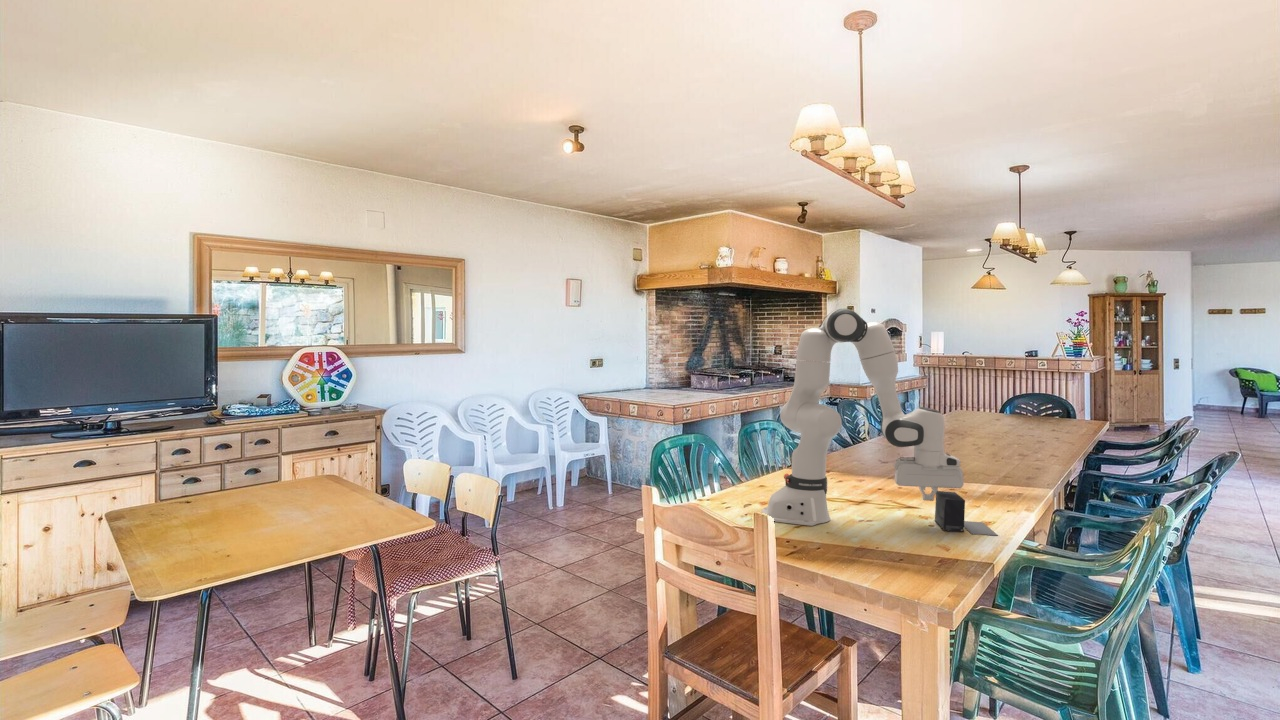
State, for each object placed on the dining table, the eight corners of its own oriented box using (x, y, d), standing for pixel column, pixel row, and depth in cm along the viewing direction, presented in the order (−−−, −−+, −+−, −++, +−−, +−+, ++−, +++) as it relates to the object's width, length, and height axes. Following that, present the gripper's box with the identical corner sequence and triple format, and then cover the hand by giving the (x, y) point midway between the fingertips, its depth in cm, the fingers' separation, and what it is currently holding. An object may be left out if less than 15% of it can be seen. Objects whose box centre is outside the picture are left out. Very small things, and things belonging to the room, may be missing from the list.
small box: (965, 533, 190) (966, 499, 190) (943, 531, 191) (943, 498, 191) (955, 522, 200) (956, 491, 200) (933, 521, 202) (934, 490, 201)
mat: (971, 534, 189) (971, 533, 189) (957, 521, 201) (957, 520, 201) (997, 535, 187) (997, 535, 187) (982, 523, 200) (982, 522, 200)
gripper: (896, 458, 195) (896, 501, 196) (965, 461, 191) (965, 504, 192) (892, 454, 201) (891, 496, 202) (959, 457, 197) (958, 499, 198)
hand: (928, 500), depth 197 cm, fingers closed
